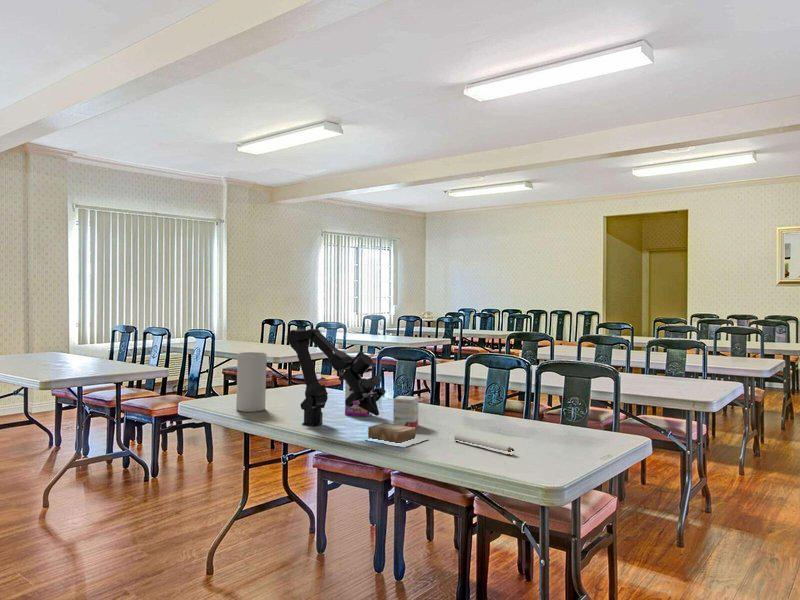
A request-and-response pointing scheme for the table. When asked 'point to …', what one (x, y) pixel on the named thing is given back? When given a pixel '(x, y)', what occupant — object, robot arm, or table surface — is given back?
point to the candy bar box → (355, 404)
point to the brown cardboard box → (391, 432)
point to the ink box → (405, 411)
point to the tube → (482, 442)
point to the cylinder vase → (251, 381)
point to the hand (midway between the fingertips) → (377, 414)
